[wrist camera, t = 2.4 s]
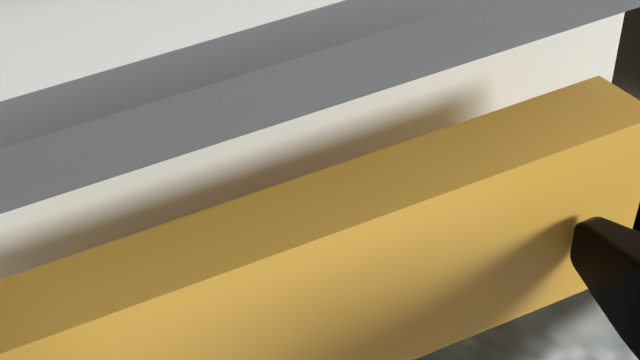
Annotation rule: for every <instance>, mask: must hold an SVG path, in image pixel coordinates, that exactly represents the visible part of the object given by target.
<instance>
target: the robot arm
mask: <svg viewBox="0 0 640 360" xmlns="http://www.w3.org/2000/svg"><path fill="white" fill-rule="evenodd" d="M570 259H571V262H572V265H573V267H574V268H575V270H576V271H577V273H578V274H579V276H580V277H581V279H582V280H583V282H584V283H585V285H586V286H587V288H588V289H589V291H590V292H591V294H592V295H593V297H594V298H595V300H596V301H597V303H598V304H599V306H600V307H601V309H602V310H603V312H604V313H605V315H606V316H607V318H608V319H609V321H610V322H611V324H612V325H613V327H614V328H615V330H616V331H617V333H618V334H619V335H620V337H621V338H622V339H623V341H624V342H625V343H626V345H627V346H628V347H629V348H630V350H631V351H632V352H633V353H634V354H635V356H636V357H637V358H638V359H639V360H640V203H639V206H638V210H637V214H636V218H635V221H634V225H633V229H631V228H629V227H626V226H624V225H621V224H619V223H616V222H613V221H611V220H608V219H606V218H603V217H592V218H589V219H587V220H584V221H582V222H579V223H577V224H576V226H575V228H574V232H573V238H572V244H571V250H570Z"/></svg>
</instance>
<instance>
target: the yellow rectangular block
mask: <svg viewBox="0 0 640 360" xmlns="http://www.w3.org/2000/svg"><path fill="white" fill-rule="evenodd" d="M639 203H640V100H638V99H636V98H635V97H633V96H632V95H630V94H628V93H627V92H625V91H624V90H622V89H620V88H619V87H617V86H615V85H614V84H612V83H611V82H609V81H607V80H606V79H604V78H602V77H601V76H596V77H593V78H590V79H587V80H584V81H581V82H578V83H575V84H572V85H569V86H566V87H563V88H560V89H557V90H555V91H552V92H549V93H546V94H543V95H540V96H537V97H534V98H531V99H528V100H525V101H522V102H519V103H516V104H513V105H511V106H508V107H505V108H502V109H499V110H496V111H493V112H490V113H487V114H484V115H481V116H478V117H475V118H472V119H470V120H467V121H464V122H461V123H458V124H455V125H452V126H449V127H446V128H443V129H440V130H437V131H434V132H431V133H428V134H426V135H423V136H420V137H417V138H414V139H411V140H408V141H405V142H402V143H399V144H396V145H393V146H390V147H387V148H384V149H382V150H379V151H376V152H373V153H370V154H367V155H364V156H361V157H358V158H355V159H352V160H349V161H346V162H343V163H341V164H338V165H335V166H332V167H329V168H326V169H323V170H320V171H317V172H314V173H311V174H308V175H305V176H302V177H299V178H297V179H294V180H291V181H288V182H285V183H282V184H279V185H276V186H273V187H270V188H267V189H264V190H261V191H258V192H256V193H253V194H250V195H247V196H244V197H241V198H238V199H235V200H232V201H229V202H226V203H223V204H220V205H217V206H214V207H212V208H209V209H206V210H203V211H200V212H197V213H194V214H191V215H188V216H185V217H182V218H179V219H176V220H173V221H170V222H168V223H165V224H162V225H159V226H156V227H153V228H150V229H147V230H144V231H141V232H138V233H135V234H132V235H129V236H127V237H124V238H121V239H118V240H115V241H112V242H109V243H106V244H103V245H100V246H97V247H94V248H91V249H88V250H85V251H83V252H80V253H77V254H74V255H71V256H68V257H65V258H62V259H59V260H56V261H53V262H50V263H47V264H44V265H41V266H39V267H36V268H33V269H30V270H27V271H24V272H21V273H18V274H15V275H12V276H9V277H6V278H3V279H0V360H415V359H418V358H420V357H423V356H425V355H428V354H430V353H433V352H435V351H437V350H440V349H442V348H445V347H447V346H450V345H452V344H455V343H457V342H460V341H462V340H464V339H467V338H469V337H472V336H474V335H477V334H479V333H482V332H484V331H486V330H489V329H491V328H494V327H496V326H499V325H501V324H504V323H506V322H509V321H511V320H513V319H516V318H518V317H521V316H523V315H526V314H528V313H531V312H533V311H536V310H538V309H540V308H543V307H545V306H548V305H550V304H553V303H555V302H558V301H560V300H563V299H565V298H567V297H570V296H572V295H575V294H577V293H580V292H582V291H585V290H587V289H588V288H587V286H586V285H585V283H584V282H583V280H582V279H581V277H580V276H579V274H578V273H577V271H576V270H575V268H574V267H573V265H572V262H571V259H570V250H571V244H572V238H573V232H574V228H575V226H576V224H577V223H579V222H582V221H584V220H587V219H589V218H592V217H603V218H606V219H608V220H611V221H613V222H616V223H619V224H621V225H624V226H626V227H629V228H631V229H633V225H634V221H635V218H636V214H637V210H638V206H639Z"/></svg>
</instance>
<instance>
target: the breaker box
mask: <svg viewBox="0 0 640 360" xmlns="http://www.w3.org/2000/svg"><path fill="white" fill-rule="evenodd" d="M639 7H640V0H0V279H3V278H6V277H9V276H12V275H15V274H18V273H21V272H24V271H27V270H30V269H33V268H36V267H39V266H41V265H44V264H47V263H50V262H53V261H56V260H59V259H62V258H65V257H68V256H71V255H74V254H77V253H80V252H83V251H85V250H88V249H91V248H94V247H97V246H100V245H103V244H106V243H109V242H112V241H115V240H118V239H121V238H124V237H127V236H129V235H132V234H135V233H138V232H141V231H144V230H147V229H150V228H153V227H156V226H159V225H162V224H165V223H168V222H170V221H173V220H176V219H179V218H182V217H185V216H188V215H191V214H194V213H197V212H200V211H203V210H206V209H209V208H212V207H214V206H217V205H220V204H223V203H226V202H229V201H232V200H235V199H238V198H241V197H244V196H247V195H250V194H253V193H256V192H258V191H261V190H264V189H267V188H270V187H273V186H276V185H279V184H282V183H285V182H288V181H291V180H294V179H297V178H299V177H302V176H305V175H308V174H311V173H314V172H317V171H320V170H323V169H326V168H329V167H332V166H335V165H338V164H341V163H343V162H346V161H349V160H352V159H355V158H358V157H361V156H364V155H367V154H370V153H373V152H376V151H379V150H382V149H384V148H387V147H390V146H393V145H396V144H399V143H402V142H405V141H408V140H411V139H414V138H417V137H420V136H423V135H426V134H428V133H431V132H434V131H437V130H440V129H443V128H446V127H449V126H452V125H455V124H458V123H461V122H464V121H467V120H470V119H472V118H475V117H478V116H481V115H484V114H487V113H490V112H493V111H496V110H499V109H502V108H505V107H508V106H511V105H513V104H516V103H519V102H522V101H525V100H528V99H531V98H534V97H537V96H540V95H543V94H546V93H549V92H552V91H555V90H557V89H560V88H563V87H566V86H569V85H572V84H575V83H578V82H581V81H584V80H587V79H590V78H593V77H596V76H601V77H602V78H604V79H606V80H607V81H609V82H611V83H612V77H613V72H614V67H615V62H616V56H617V51H618V46H619V41H620V35H621V30H622V25H623V19H624V14H625V12H626V11H629V10H632V9H635V8H639Z"/></svg>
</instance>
